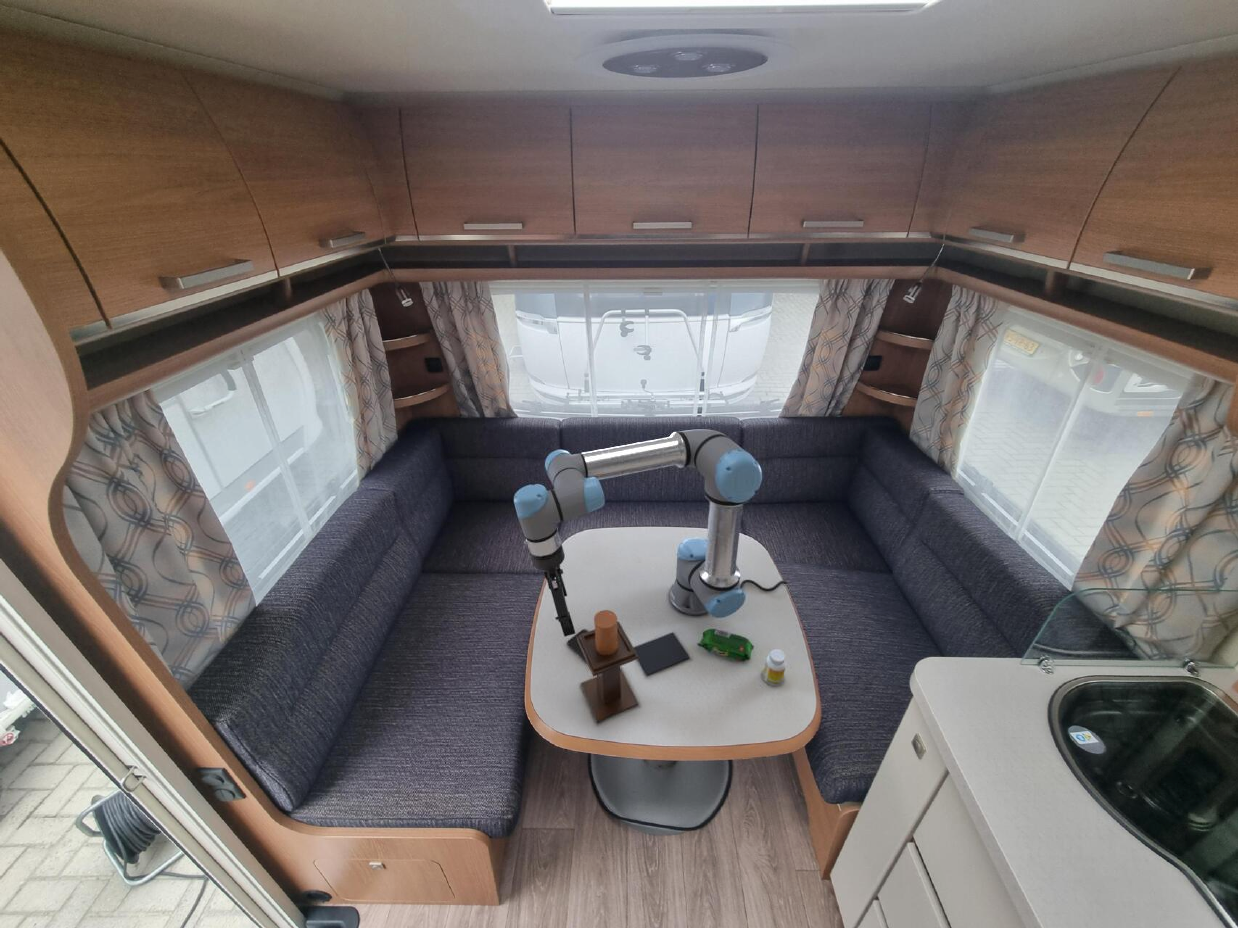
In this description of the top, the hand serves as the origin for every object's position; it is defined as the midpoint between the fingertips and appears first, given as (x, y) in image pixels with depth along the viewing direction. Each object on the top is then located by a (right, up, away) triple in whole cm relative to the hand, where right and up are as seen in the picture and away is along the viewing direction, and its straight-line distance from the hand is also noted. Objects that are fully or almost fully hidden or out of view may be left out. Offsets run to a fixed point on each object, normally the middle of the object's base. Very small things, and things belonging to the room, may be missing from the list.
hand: (565, 614), depth 122 cm
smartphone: (+6, -18, +23) cm, 30 cm away
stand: (+11, -26, +11) cm, 30 cm away
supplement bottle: (+57, -23, +15) cm, 63 cm away
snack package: (+45, -18, +23) cm, 54 cm away
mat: (+26, -19, +22) cm, 39 cm away
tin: (+10, -8, +1) cm, 13 cm away
